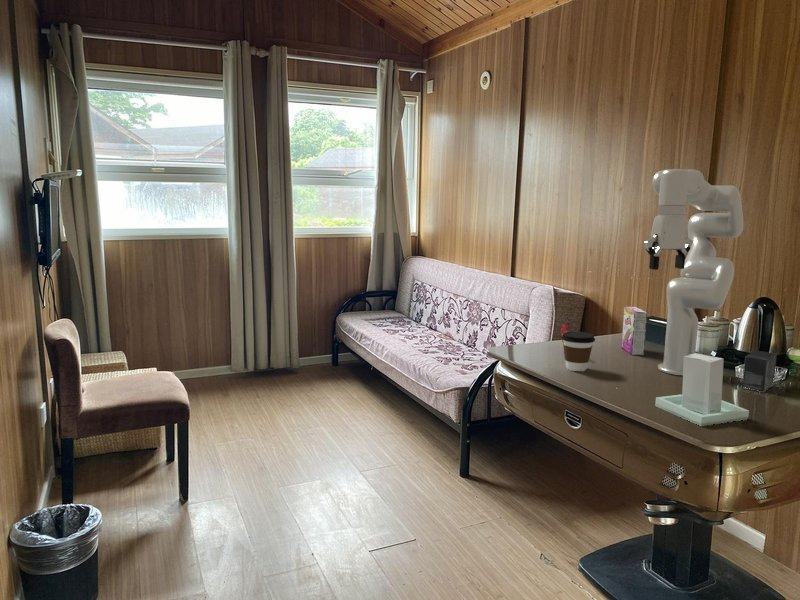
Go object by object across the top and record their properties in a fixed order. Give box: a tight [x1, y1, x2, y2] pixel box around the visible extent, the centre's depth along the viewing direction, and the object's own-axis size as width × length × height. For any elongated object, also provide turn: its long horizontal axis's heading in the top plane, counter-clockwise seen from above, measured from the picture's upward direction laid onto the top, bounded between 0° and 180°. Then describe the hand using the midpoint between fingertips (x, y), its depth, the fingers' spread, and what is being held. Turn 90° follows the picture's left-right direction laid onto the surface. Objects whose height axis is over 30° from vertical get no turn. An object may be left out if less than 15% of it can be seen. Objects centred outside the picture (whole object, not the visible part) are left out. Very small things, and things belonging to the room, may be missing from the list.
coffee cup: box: [561, 331, 596, 372], centre depth 202 cm, size 11×11×12 cm
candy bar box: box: [621, 306, 648, 356], centre depth 226 cm, size 11×5×16 cm, turn 179°
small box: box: [741, 350, 778, 391], centre depth 185 cm, size 11×6×10 cm, turn 135°
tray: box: [654, 393, 750, 427], centre depth 163 cm, size 16×16×2 cm
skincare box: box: [681, 352, 725, 414], centre depth 162 cm, size 8×6×15 cm
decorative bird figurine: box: [560, 323, 571, 345], centre depth 223 cm, size 3×18×10 cm, turn 8°
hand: (666, 268), depth 181 cm, fingers open, 9 cm apart
